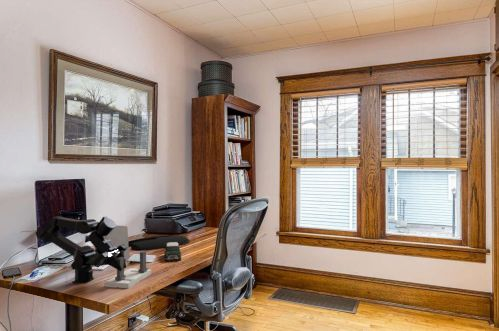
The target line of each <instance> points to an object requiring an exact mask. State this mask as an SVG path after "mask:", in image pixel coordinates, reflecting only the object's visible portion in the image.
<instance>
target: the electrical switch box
mask: <svg viewBox="0 0 499 331" xmlns="http://www.w3.org/2000/svg"><path fill="white" fill-rule="evenodd" d="M128 229H129V228H128V226H127V225H117V224H116V226H115V228H114V229H113V230H112V231H111V232H110V233H109V234H108V235H107V236H105V237H106V239H107V240H108V239H110V240H111V241H110V243H111V244H112V245H113V247H114V246H116V247H118V246H120V245H122V244H126V246H127V247H128V248H127V249H126V250H125V251H124V258H125V260H126V259H127V260H128V259H129V258H130V247H129V245H128V241H129V234H128V233H129V232H128ZM95 249H96V248H95V247H94V250H95ZM115 250H116V249H115Z"/></svg>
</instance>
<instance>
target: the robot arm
mask: <svg viewBox="0 0 499 331" xmlns="http://www.w3.org/2000/svg"><path fill="white" fill-rule="evenodd" d="M116 225H117V223H116V222H115V221H114V220H113V219H112V218H109V217H107V216H103V217H102V218H100V221H97V220H96V219H94V218H91V219H81V220H80V219H74V218H68V217H63V216H60V215H59V216H53V217H52V218H50V219H49V220H48V221H45V222H44V223H43V224H41V225H40V227H39V226H38V228H37V229H36V231H35V236H36V239H38V240H41V241H43V242H49V243H52V244H53V245H55V246H57V247H59V249H62V250H63V251H64V252H66V253H67V254H70V255H71V256H72V257H73V262H71V264H70V267H71V269H72V270H75V271H74V279H73V280H72V283H73V284H75V283H77V284H86V283H89V282H91V281H92V280H94V279H95V277H94V275H93V274H94V272H93V267H95V268H100V267H103V266H106V265H107V266H110V267H112V268H114V269H116V271H117V270H119V271H121V270H122V268H121V265H120V263H119V261H118V258H120V257H124V251H125V250H126V249H127V248H128V247H127V246H126V244H122V245H120V246H118V247H116V246H114V247H113V245H112V244H111V243H110V241H111V240H110V239H108V240H107V239H106V237H105V236H107V235H108V234H109V233H110V232H111V231H112V230H113V229H114V228H115V226H116ZM61 228H64V229H65V228H67V229H72V230H75V231H76V232H77V233H79V234H81V235H85V234H88V235H85V239H84V243H88V242H90V243H91V244H92V245H93V247H94V248H93V247H91V246H90V245H88V244H87V245H84V246H80V245H79V244H77V243H75V242H74V241H72V240H70V239H69V238H67V237H66V236H64V235H63V234H62V233H60V230H61ZM95 248H96V249H95ZM115 249H116V250H115ZM126 269H127V264H126V259H125V258H124V270H126Z"/></svg>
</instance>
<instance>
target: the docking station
mask: <svg viewBox="0 0 499 331" xmlns="http://www.w3.org/2000/svg"><path fill="white" fill-rule="evenodd" d="M170 242H177V243H178V244H179V247H181V246H183V245H186V244H189V243H190V239H189V238H188V237H187V236H184V235H180V234H179V235H178V234H171V235H170V234H169V235H168V234H166V235H154V236H147V237H142V238H137V239H131V240H128V245H129V248H130V250H134V251H139V252H142V251H152V250H153V251H154V250H161V249H165V248H166V245H167V243H170ZM180 245H181V246H180Z"/></svg>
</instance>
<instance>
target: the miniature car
mask: <svg viewBox="0 0 499 331" xmlns="http://www.w3.org/2000/svg"><path fill="white" fill-rule="evenodd" d="M181 253H182V252H181V249H180V246H179V244H178V243H177V242H170V243H167V245H166V248H164V255H163V256H164V257H163V258H164V262H167V261H168V260H174V259H175V260H178V261H181V260H182V254H181Z"/></svg>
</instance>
